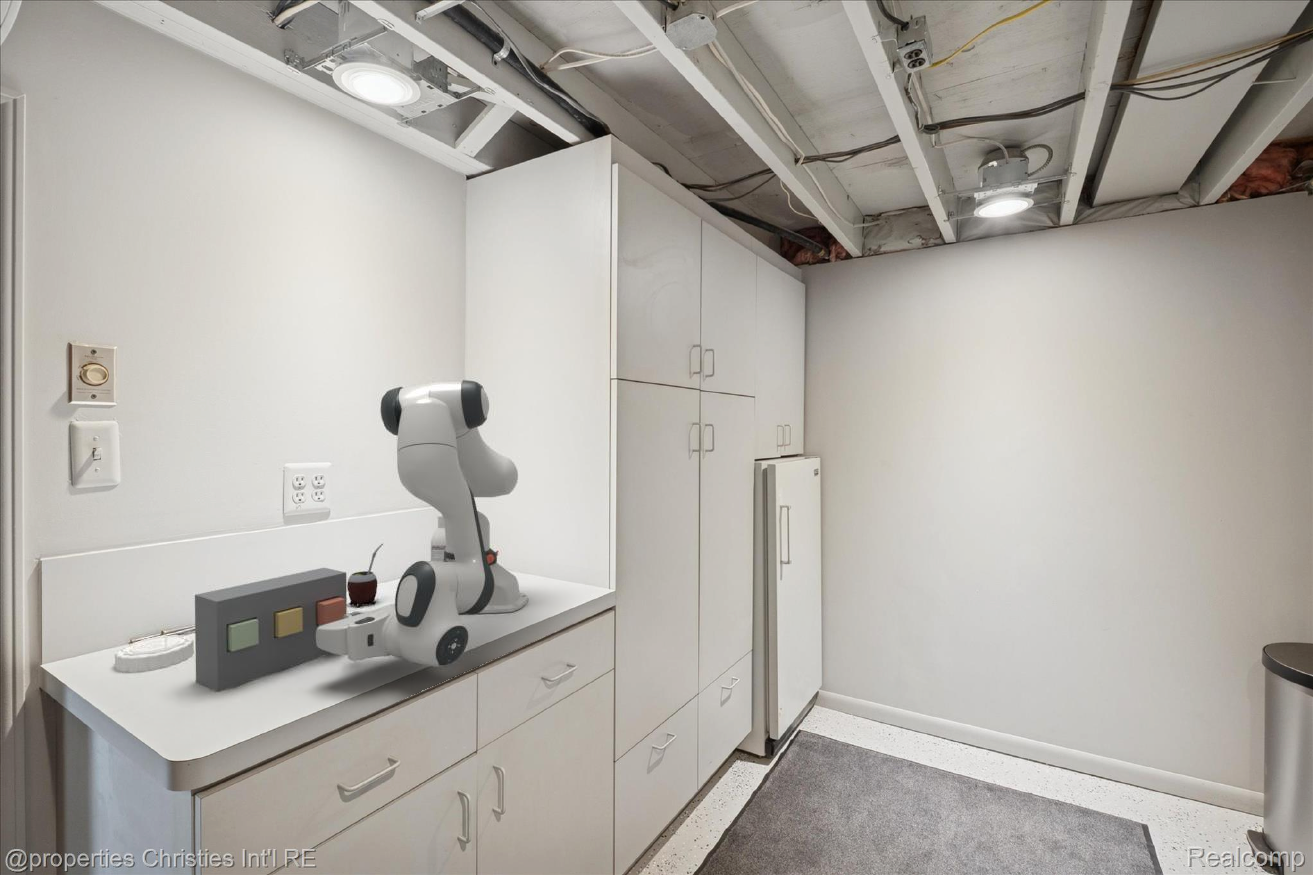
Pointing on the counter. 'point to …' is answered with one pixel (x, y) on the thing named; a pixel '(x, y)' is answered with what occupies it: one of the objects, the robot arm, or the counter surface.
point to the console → (260, 626)
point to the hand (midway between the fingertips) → (350, 616)
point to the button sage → (242, 634)
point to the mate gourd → (363, 586)
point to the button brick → (330, 610)
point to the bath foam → (438, 541)
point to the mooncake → (154, 653)
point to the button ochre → (288, 621)
